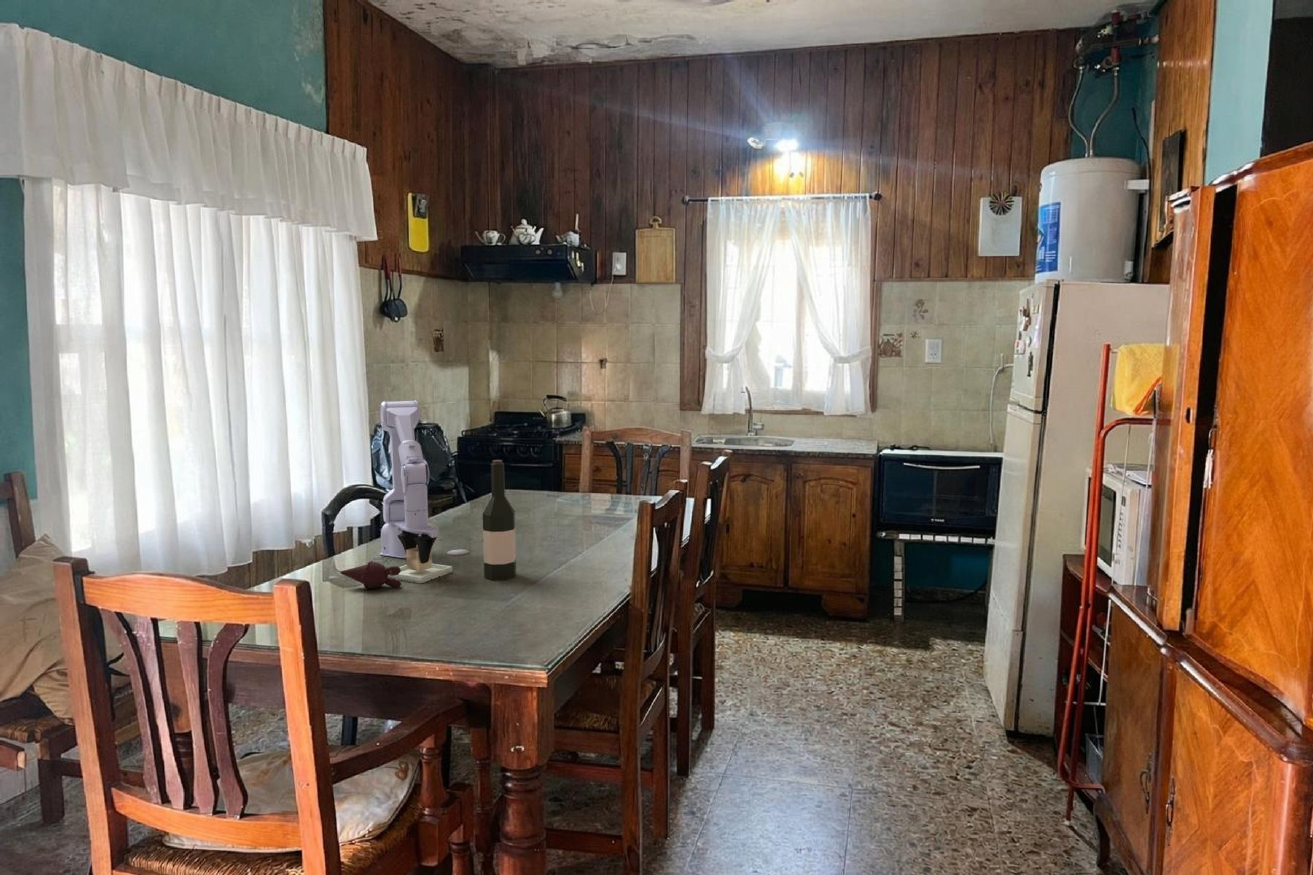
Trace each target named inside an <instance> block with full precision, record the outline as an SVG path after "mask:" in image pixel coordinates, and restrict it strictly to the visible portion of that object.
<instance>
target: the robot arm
mask: <svg viewBox="0 0 1313 875" xmlns="http://www.w3.org/2000/svg"><path fill="white" fill-rule="evenodd" d="M420 410H421V409H420V404H419V402H418V401H417V400H415V399H414V400H404V401H403V400H402V401H400V400H399V401H398V400H397V401H385V400H384V401H382V402H381V403H380V410H379V412H380V424H381V430H383V431H386V432H388V435H389V437H390V454H391V455H390V457H391V476H392V489H391V490H389V492H387V493H386V494H385V495H384V496H383V499H382V501H383V504H382V517H383V522H385V523H384V525H383V526H382V528H381V530H380V544H381V546H380V548H381V550H380V551H381V552H379V555H380V556H385V557H392V558H400V559H406V550H408V549H412V548H416V547H418V550H419V558H420V562H421V563H422V564H423V563H427V562H428V561H429V557H430V552H431V549H432V550H433V546H434V543H435V541H436V539H437V538H438V537H440V529H439V528H435V527H434V526H432V524H431V523H429V512H428V511H429V506H428V485H429V483H430V469H429V466H428V462H427V461H426V459H424V457H423V456H424V455H423V452H422V446H421V444H420V443H419V442H418V441H416V440H415V439H416V438H415V429H416V427H417V426H418V423H419V420H420V414H421V413H420Z"/></svg>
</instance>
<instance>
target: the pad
mask: <svg viewBox="0 0 1313 875" xmlns="http://www.w3.org/2000/svg"><path fill="white" fill-rule="evenodd" d="M469 553H470V550H468V549H465V548H464V549H462V548H461V549H459V548H458V549H452V550H448V551H447V555H448V556H455V555H456V556H465V555H467V554H469Z"/></svg>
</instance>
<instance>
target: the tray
mask: <svg viewBox="0 0 1313 875" xmlns="http://www.w3.org/2000/svg"><path fill="white" fill-rule="evenodd" d="M398 567H399V568H400V570H401V572H400V573H399V574H398V575H394V576H391V575H388V578H392V579H397V580H399V581H401V580H402V581H404V582H408V583H409V582H410V583H414V582H415V584H423V583H425V582H428V581H431V579H432V580H433V579H436V578H439V576H440V577H442V576H445V575H448V574H450V573H453V566H452V565H445V564H437V563H432V568H429V569H425V570H422V571H414V570H410V569H407V564H405V565H402V566H398Z"/></svg>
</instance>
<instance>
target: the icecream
mask: <svg viewBox="0 0 1313 875" xmlns="http://www.w3.org/2000/svg"><path fill="white" fill-rule="evenodd" d="M399 567H400V566H397V565H396V566H394V565H392V566H391V565H390V566H387V567H386V566H385V565H384V564H382V563H380V562H376V561H373V560H371V561H368V562H367V564H365V565H360V566H356V567H353V568H348V569H345V570H341V571H340V574H341V575H343V576H345V577H347V578H350V579H351V580H354V581H357V582H358V583H361V584H362V585H363V586H364V589H365V590H368V589H379V588H381V587H382V586H384V585H386V586H388V587H391V588H393V587H398V588H400V587H401V586H402V582H401V580H396V579H392V578H388V575H391V576H394V575H398V574H399V573H400V572H401V570H400V568H399Z"/></svg>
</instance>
